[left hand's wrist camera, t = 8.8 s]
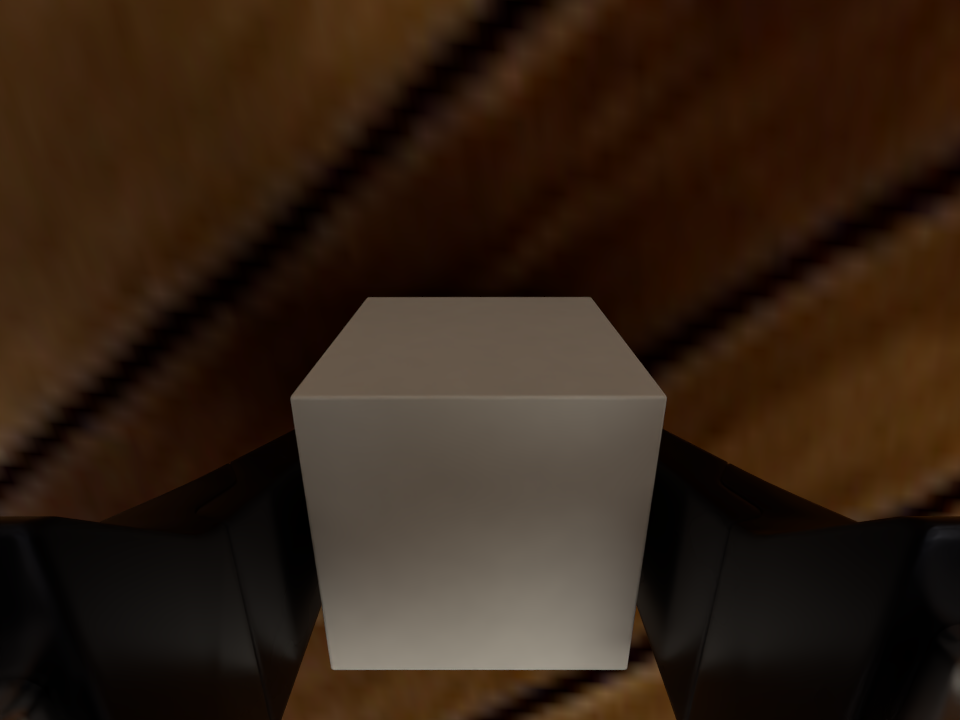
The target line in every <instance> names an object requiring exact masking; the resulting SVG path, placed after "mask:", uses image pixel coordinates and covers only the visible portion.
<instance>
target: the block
mask: <svg viewBox="0 0 960 720" xmlns="http://www.w3.org/2000/svg"><path fill="white" fill-rule="evenodd" d="M290 399H291V406H292V412H293V419H294V426H295V432H296V439H297V445H298V452H299V458H300V465H301V472H302V478H303V485H304V491H305V498H306V505H307V511H308V518H309V524H310V531H311V537H312V544H313V551H314V557H315V564H316V570H317V577H318V584H319V590H320V597H321V603H322V610H323V616H324V623H325V630H326V636H327V643H328V649H329V656H330V662H331V668H332V669H333V670H625V669H626V668H627V664H628V657H629V650H630V644H631V637H632V630H633V623H634V617H635V610H636V603H637V596H638V590H639V583H640V576H641V569H642V563H643V556H644V549H645V542H646V535H647V529H648V522H649V515H650V508H651V502H652V495H653V488H654V481H655V475H656V468H657V461H658V454H659V448H660V441H661V434H662V427H663V421H664V414H665V407H666V400H667V397H666V395H665V394H664V392H663V391H662V390H661V389H660V387H659V386H658V385H657V383H656V382H655V381H654V379H653V378H652V377H651V375H650V374H649V373H648V371H647V370H646V369H645V368H644V366H643V365H642V364H641V362H640V361H639V360H638V358H637V357H636V356H635V354H634V353H633V352H632V351H631V349H630V348H629V347H628V345H627V344H626V343H625V341H624V340H623V339H622V337H621V336H620V335H619V333H618V332H617V331H616V330H615V328H614V327H613V326H612V324H611V323H610V322H609V320H608V319H607V318H606V316H605V315H604V314H603V313H602V311H601V310H600V309H599V307H598V306H597V305H596V303H595V302H594V301H593V299H592V298H591V297H368V298H367V299H366V300H365V301H364V303H363V304H362V305H361V307H360V308H359V309H358V310H357V312H356V313H355V314H354V316H353V317H352V318H351V319H350V321H349V322H348V323H347V325H346V326H345V327H344V328H343V330H342V331H341V332H340V334H339V335H338V336H337V337H336V339H335V340H334V341H333V343H332V344H331V345H330V347H329V348H328V349H327V350H326V352H325V353H324V354H323V356H322V357H321V358H320V359H319V361H318V362H317V363H316V365H315V366H314V367H313V368H312V370H311V371H310V372H309V374H308V375H307V376H306V377H305V379H304V380H303V381H302V383H301V384H300V385H299V386H298V388H297V389H296V390H295V392H294V393H293V394H292V396H291V398H290Z"/></svg>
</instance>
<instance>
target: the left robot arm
mask: <svg viewBox="0 0 960 720" xmlns="http://www.w3.org/2000/svg"><path fill="white" fill-rule="evenodd" d="M321 605H322V603H321V597H320V590H319V584H318V577H317V570H316V564H315V557H314V551H313V544H312V537H311V531H310V524H309V518H308V511H307V505H306V498H305V491H304V485H303V478H302V472H301V465H300V458H299V452H298V445H297V439H296V432H295V429H294V430H293V431H291V432H289V433H287V434H285V435H283V436H281V437H279V438H277V439H275V440H273V441H271V442H269V443H267V444H265V445H263V446H261V447H259V448H257V449H255V450H253V451H251V452H249V453H248V454H246V455H244V456H242V457H240V458H238V459H236V460H234V461H232V462H231V463H230V464H226V465H224V466H222V467H220V468H218V469H216V470H214V471H212V472H210V473H208V474H206V475H204V476H202V477H200V478H198V479H196V480H194V481H192V482H189V483H187V484H185V485H183V486H181V487H178V488H176V489H174V490H172V491H170V492H167V493H165V494H163V495H161V496H158V497H156V498H154V499H151V500H149V501H147V502H144V503H142V504H140V505H138V506H135V507H133V508H131V509H128V510H126V511H124V512H121V513H119V514H117V515H115V516H112V517H110V518H108V519H105V520H103V521H101V522H92V521H85V520H78V519H70V518H63V517H55V516H0V720H281V719H282V716H283V713H284V711H285V708H286V705H287V702H288V699H289V696H290V693H291V691H292V688H293V685H294V682H295V679H296V676H297V673H298V671H299V668H300V665H301V662H302V659H303V656H304V653H305V651H306V648H307V645H308V642H309V639H310V636H311V634H312V631H313V628H314V625H315V622H316V619H317V616H318V614H319V611H320V608H321ZM636 605H637V607H638V610H639V613H640V616H641V619H642V622H643V625H644V628H645V630H646V633H647V636H648V639H649V642H650V645H651V648H652V651H653V653H654V656H655V659H656V662H657V665H658V668H659V671H660V674H661V677H662V679H663V682H664V685H665V688H666V691H667V694H668V697H669V700H670V702H671V705H672V708H673V711H674V714H675V717H676V720H960V516H901V517H893V518H886V519H878V520H871V521H864V522H856V521H854V520H852V519H850V518H847V517H845V516H843V515H840V514H838V513H836V512H834V511H831V510H829V509H827V508H824V507H822V506H820V505H818V504H815V503H813V502H811V501H808V500H806V499H804V498H802V497H799V496H797V495H795V494H792V493H790V492H788V491H786V490H784V489H781V488H779V487H777V486H775V485H773V484H770V483H768V482H766V481H764V480H762V479H760V478H758V477H756V476H754V475H752V474H750V473H748V472H746V471H744V470H742V469H740V468H738V467H736V466H734V465H732V464H728V463H727V462H726V461H724V460H722V459H720V458H718V457H716V456H714V455H712V454H710V453H709V452H707V451H705V450H703V449H701V448H699V447H697V446H695V445H693V444H691V443H689V442H687V441H685V440H683V439H681V438H679V437H677V436H675V435H673V434H672V433H670V432H668V431H666V430H664V429H662V434H661V441H660V448H659V454H658V461H657V468H656V475H655V481H654V488H653V495H652V502H651V508H650V515H649V522H648V529H647V535H646V542H645V549H644V556H643V563H642V569H641V576H640V583H639V590H638V596H637V603H636Z"/></svg>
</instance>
